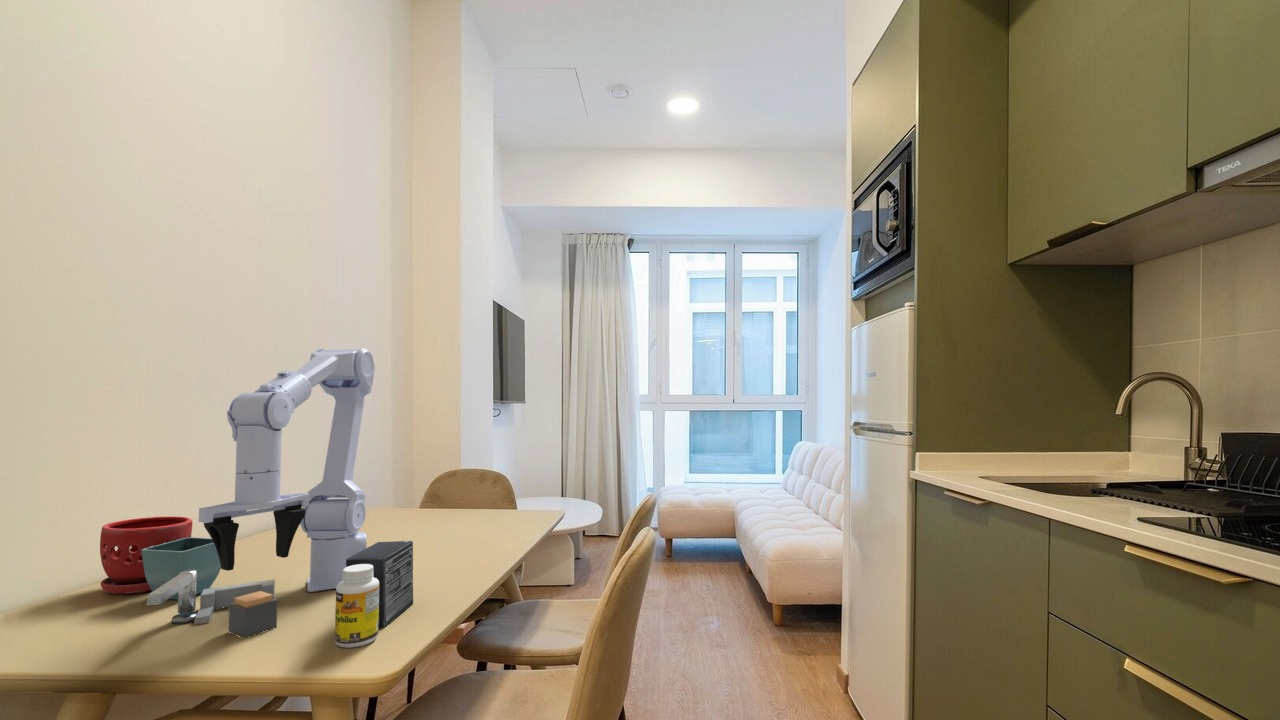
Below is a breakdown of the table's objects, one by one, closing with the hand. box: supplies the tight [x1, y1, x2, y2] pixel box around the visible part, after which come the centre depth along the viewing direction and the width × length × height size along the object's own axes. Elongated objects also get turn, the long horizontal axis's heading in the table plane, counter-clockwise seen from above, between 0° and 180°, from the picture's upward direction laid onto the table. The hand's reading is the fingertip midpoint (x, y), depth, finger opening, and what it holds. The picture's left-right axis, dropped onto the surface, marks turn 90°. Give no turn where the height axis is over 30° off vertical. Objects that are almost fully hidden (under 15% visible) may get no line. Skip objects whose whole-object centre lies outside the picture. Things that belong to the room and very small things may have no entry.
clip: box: [146, 570, 197, 614], centre depth 87 cm, size 12×2×6 cm, turn 18°
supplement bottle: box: [334, 564, 379, 649], centre depth 83 cm, size 6×6×10 cm
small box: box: [346, 540, 414, 629], centre depth 93 cm, size 11×6×10 cm, turn 178°
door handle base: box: [171, 610, 199, 625], centre depth 91 cm, size 4×4×1 cm
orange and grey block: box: [228, 591, 278, 639], centre depth 87 cm, size 4×4×5 cm
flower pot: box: [141, 536, 222, 601], centre depth 103 cm, size 9×9×9 cm
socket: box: [194, 579, 276, 626], centre depth 96 cm, size 10×8×3 cm
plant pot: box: [99, 516, 194, 595], centre depth 109 cm, size 13×13×12 cm
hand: (255, 562), depth 88 cm, fingers open, 7 cm apart
